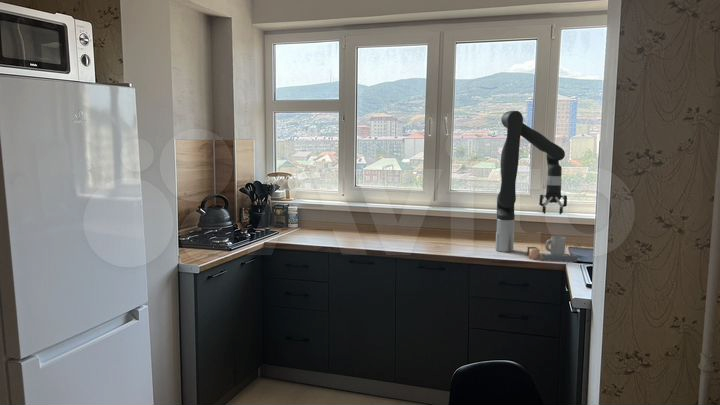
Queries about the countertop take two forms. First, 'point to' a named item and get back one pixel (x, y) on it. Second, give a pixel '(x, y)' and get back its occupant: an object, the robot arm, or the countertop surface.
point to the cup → (556, 245)
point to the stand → (559, 257)
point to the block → (529, 248)
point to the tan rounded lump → (534, 253)
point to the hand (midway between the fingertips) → (552, 213)
